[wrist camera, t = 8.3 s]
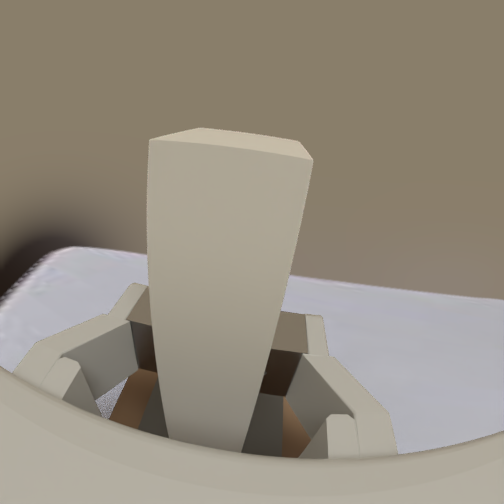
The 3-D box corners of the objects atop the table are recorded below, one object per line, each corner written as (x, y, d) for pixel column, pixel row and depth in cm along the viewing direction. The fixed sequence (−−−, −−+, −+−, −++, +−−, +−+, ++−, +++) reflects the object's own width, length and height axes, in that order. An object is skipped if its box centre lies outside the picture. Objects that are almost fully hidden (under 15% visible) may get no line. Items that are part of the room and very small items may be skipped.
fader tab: (272, 513, 8) (475, 224, 3) (126, 484, 8) (-2, 157, 3) (278, 405, 13) (355, 149, 8) (162, 384, 14) (155, 121, 8)
